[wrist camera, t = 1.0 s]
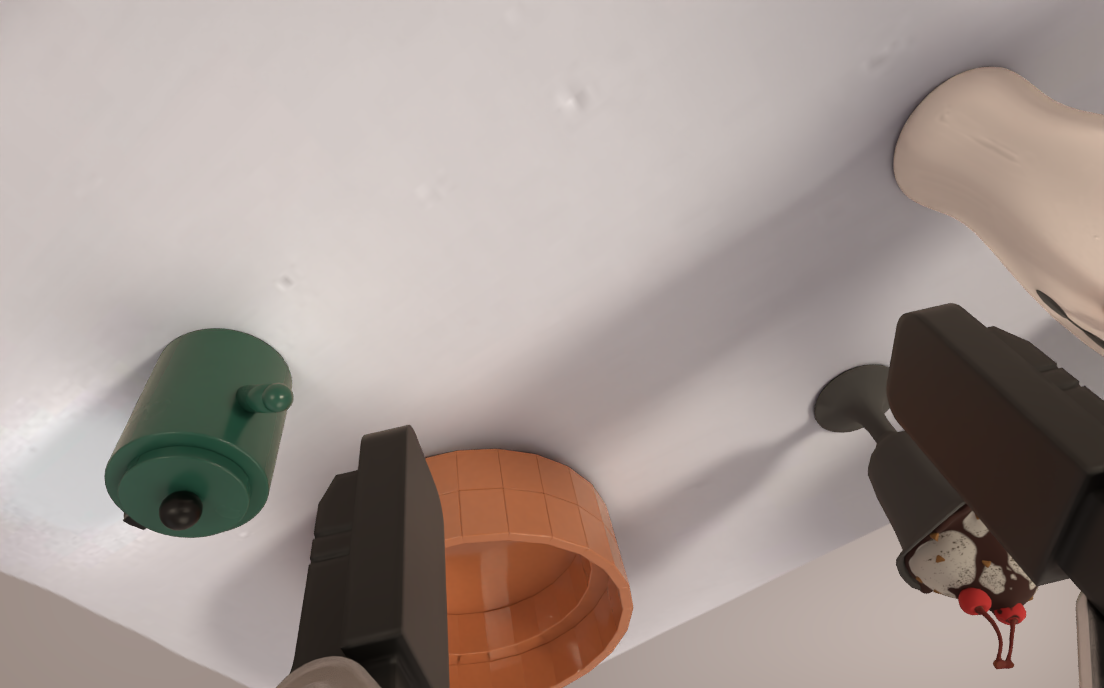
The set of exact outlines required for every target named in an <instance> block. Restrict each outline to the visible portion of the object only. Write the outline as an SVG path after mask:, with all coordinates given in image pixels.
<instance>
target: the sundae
mask: <svg viewBox="0 0 1104 688" xmlns="http://www.w3.org/2000/svg"><path fill="white" fill-rule="evenodd" d="M888 373H889V368H888V367H886V366H883V365H863V366H859V367H856V368H853V369H850V370H848V371H846V372H844V373H843V374H841V375H839V376H838V377H836V378H835V379H834V380H832V381H831V382H830V383H829V384H828V385H827V386H826V387H825V388H824V390H823V391H822V392H821V394H820V396H819V397H818V399H817V402H816V405H815V419H816V421H817V422H818V424H819V425H820V426H821V427H822V428H824V429H827V430H830V431H833V432H851V431H855V430H858V429H861V428H865V429H866V430H867V431H868V432H869V433H870V435H871V436H872V437H873V439H874V440H875V441H876V443H877V445H876V449H875V450H874V452H873V453H872V455H871V459H870V463H869V466H868V476H869V479H870V481H871V484H872V486H873V489H874V491H875V494H876V496H877V499H878V500H879V502H880V504H881V506H882V508H883V510H884V512H885V514H886V516H887V518H888V519H889V521H890V523H891V525H892V527H893V529H894V531H895V533H896V535H897V537H898V540H899V542H900V544H901V547H902V549H903V551H902V552H901V553H900V555H899V556H898V558H897V559H896V566H897V568H898V571H899V574H900V576H901V577H902V578H903V579H904V581H905V582H906V583H908V584H909V585H910V586H911V587H912V588H915V589H918V590H920V591H921V592H923V593H926V594H927V593H930V592H932V591H934V592H935V593H938V594H942V595H945V596H948V597H952V598H956V599H958V601H959V605H960V607H961V609H962V610H963V611H964V612H966V613H967V614H970V615H983V616H984V617H985V618H986V619H987V620H988V621H989V622H990V623H991V624H992V626H993V628H994V629H995V631H996V633H997V636H998V640H999V649H998V654H997V658H996V660H995V661H994V662H993V665H994V667H995V668H996V669H1004V668H1006V669H1007V668H1008V669H1009V668H1013V667H1014V664H1013V663H1012V661H1011V654H1012V648H1013V639H1014V632H1015V624H1019V623H1020V622H1022V620H1023V619H1025V617H1026V611H1025V609H1024V607H1023V605H1024V604H1025V603H1026V602H1028V601H1030V600H1032V599H1033V595H1034V594H1035V592H1036V591H1037V589H1038V586H1036V585H1035V584H1034V583H1033V582H1032V581H1031V579H1030V578H1029V577H1028V576H1027V575H1026V574H1025V572H1024V571H1023V570H1022V569H1021V568H1020V566H1019V565H1018V564H1017V563H1016V562H1015V561H1014V559H1013V558H1012V557H1011V556H1010V555H1009V553H1008V552H1007V551H1006V550H1005V549H1004V548H1003V546H1002V545H1001V544H1000V543H999V542H998V540H997V539H996V538H995V537H994V536H993V534H992V533H991V532H990V531H989V530H988V529H987V527H986V526H985V525H984V524H983V523H982V521H981V520H980V519H979V518H978V517H977V516H976V514H975V513H974V512H973V511H972V510H971V508H970V507H969V506H968V505H967V504H966V502H965V501H964V500H963V499H962V498H961V497H960V495H959V494H958V493H957V492H956V491H955V489H954V488H953V487H952V486H951V485H950V484H949V482H948V481H947V480H946V479H945V478H944V476H943V475H942V474H941V473H940V472H939V470H938V469H937V468H936V467H935V466H934V465H933V463H932V462H931V461H930V460H929V459H928V457H927V456H926V455H925V454H924V453H923V452H922V450H921V449H920V448H919V447H918V446H917V444H916V443H915V442H914V441H913V440H912V439H911V437H910V436H909V435H908V434H907V433H906V431H900V432H897V431H896V430H895V428H894V427H893V426H892V425H891V424H890V423H889V421H888V420H887V418H886V416H885V414H884V413H885V412H886V411H887V410H888V409H889V408H890V406H889V403H888V399H887V393H886V385H887V379H888ZM988 610H990V611H992V613H993V614H994V615H995V616H996V618H997V619H998V620H999V621H1000V622H1002V623H1004V624H1007V625H1010V627H1011V629H1010V638H1009V639H1010V644H1009V652H1008V655H1007V658H1006V660H1005V661H1004V660H1002V659H1001V653H1002V646H1003V642H1002V636H1001V633H1000V631H999V628H998V626H997V625H996V623H995V621H994V620H993V619H992V618H991V617H990V615H989V614H988V613H987V611H988Z"/></svg>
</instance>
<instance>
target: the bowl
mask: <svg viewBox="0 0 1104 688" xmlns="http://www.w3.org/2000/svg"><path fill="white" fill-rule="evenodd" d="M425 459H426V462H427V465H428V467H429V470H430V472H431V475H432V477H433V480H434V482H435V485H436V488H437V491H438V494H439V498H440V502H441V507H442V512H443V520H444V538H445V567H446V595H447V624H448V653H449V681H450V688H563V687H565V686H566V685H568V684H570V683H571V682H573V681H575V680H577V679H578V678H580V677H582V676H583V675H585V674H587V673H588V672H590V671H591V670H592V669H593V668H595V667H596V666H597V665H598V664H599V663H600V662H602V661H603V660H604V659H605V658H606V657H607V656H608V655H610V654H611V653H612V652H613V650H614V649H615V647H616V646H617V644H618V643H619V642H620V640H621V639H622V637H623V636H624V634H625V633H626V632H627V630H628V626H629V622H630V619H631V615H632V611H633V603H632V597H631V591H630V586H629V582H628V579H627V575H626V572H625V568H624V565H623V562H622V558H621V555H620V551H619V548H618V545H617V541H616V538H615V534H614V531H613V527H612V524H611V520H610V517H609V513H608V510H607V507H606V504H605V503H604V502H603V500H602V499H601V497H600V496H599V494H598V493H597V491H596V490H595V488H594V487H593V485H592V484H591V483H590V482H588V481H587V480H586V479H584V478H583V477H582V476H580V475H579V474H578V473H576V472H575V471H574V470H572V469H571V468H569V467H568V466H566V465H563V464H561V463H558V462H555V461H553V460H550V459H548V458H545V457H542V456H540V455H537V454H531V453H524V452H517V451H510V450H503V449H479V450H460V451H453V452H448V453H444V454H440V455H436V456H432V457H428V458H425Z"/></svg>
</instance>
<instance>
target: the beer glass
mask: <svg viewBox="0 0 1104 688" xmlns="http://www.w3.org/2000/svg"><path fill="white" fill-rule="evenodd" d="M893 169H894V175H895V179H896V182H897V184H898V186H899V187H900V189H901V190H902V192H903V193H904V194H905V195H906V196H907V197H908V198H909V199H911V200H913V201H914V202H916V203H918V204H920V205H922V206H924V207H927V208H930V209H932V210H935V211H938V212H940V213H943V214H946V215H948V216H950V217H952V218H954V219H956V220H958V221H959V222H961V223H963V224H964V225H966V226H967V227H968V228H969V229H970V230H972V231H973V232H974V233H975V234H976V235H977V236H978V237H979V238H980V239H981V240H982V241H983V242H984V243H985V244H986V245H987V247H988V248H989V249H990V250H991V251H992V252H993V253H994V255H995V256H996V257H997V258H998V259H999V260H1000V262H1001V263H1002V264H1003V265H1004V266H1005V267H1006V269H1007V270H1008V271H1009V272H1010V273H1011V274H1012V275H1013V277H1014V278H1015V279H1016V280H1017V281H1018V282H1019V283H1020V284H1021V286H1022V287H1023V288H1024V289H1025V290H1026V291H1027V292H1028V293H1029V294H1030V295H1031V296H1032V297H1033V298H1034V299H1035V300H1036V301H1037V302H1038V303H1039V304H1040V305H1041V306H1042V307H1043V308H1044V309H1045V310H1046V311H1047V312H1048V313H1049V314H1050V315H1051V316H1052V317H1053V318H1054V319H1055V320H1056V321H1057V322H1059V323H1060V324H1061V325H1062V326H1064V327H1065V328H1066V329H1067V330H1068V331H1070V332H1071V333H1072V334H1073V335H1075V336H1076V337H1077V338H1078V339H1080V340H1081V341H1082V342H1083V343H1085V344H1086V345H1087V346H1089V347H1090V348H1092V349H1093V350H1094V351H1096V352H1097V353H1099V354H1100V355H1102V356H1103V357H1104V115H1102V114H1097V113H1092V112H1087V111H1082V110H1078V109H1075V108H1072V107H1069V106H1066V105H1063V104H1061V103H1059V102H1057V101H1055V100H1053V99H1052V98H1050V97H1048V96H1047V95H1045V94H1044V93H1043V92H1042V91H1040V90H1039V89H1038V88H1036V87H1035V86H1034V85H1033V84H1031V83H1030V82H1029V81H1027V80H1026V79H1025V78H1023V77H1022V76H1020V75H1019V74H1017V73H1015V72H1013V71H1011V70H1009V69H1006V68H1001V67H979V68H975V69H971V70H968V71H965V72H962V73H960V74H958V75H956V76H954V77H952V78H950V79H948V80H947V81H945V82H944V83H942V84H941V85H939V86H938V87H937V88H935V89H934V90H933V91H932V92H931V93H930V94H929V95H927V96H926V97H925V98H924V99H923V100H922V102H921V103H920V104H919V105H918V106H917V107H916V109H915V110H914V111H913V112H912V114H911V115H910V117H909V118H908V120H907V122H906V123H905V125H904V127H903V129H902V131H901V133H900V136H899V138H898V141H897V144H896V148H895V152H894V159H893Z"/></svg>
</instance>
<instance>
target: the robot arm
mask: <svg viewBox="0 0 1104 688" xmlns="http://www.w3.org/2000/svg"><path fill="white" fill-rule="evenodd" d="M886 393H887V399H888V403H889V406H890V409H891V411H892V413H893V415H894V417H895V419H896V420H897V422H898V423H899V424H900V425H901V427H902V428H903V429H904V430H905V431H906V433H907V434H908V435H909V436H910V437H911V439H912V440H913V441H914V442H915V443H916V444H917V446H918V447H919V448H920V449H921V450H922V452H923V453H924V454H925V455H926V456H927V457H928V459H929V460H930V461H931V462H932V463H933V465H934V466H935V467H936V468H937V469H938V470H939V472H940V473H941V474H942V475H943V476H944V478H945V479H946V480H947V481H948V482H949V484H950V485H951V486H952V487H953V488H954V489H955V491H956V492H957V493H958V494H959V495H960V497H961V498H962V499H963V500H964V501H965V502H966V504H967V505H968V506H969V507H970V508H971V510H972V511H973V512H974V513H975V514H976V516H977V517H978V518H979V519H980V520H981V521H982V523H983V524H984V525H985V526H986V527H987V529H988V530H989V531H990V532H991V533H992V534H993V536H994V537H995V538H996V539H997V540H998V542H999V543H1000V544H1001V545H1002V546H1003V548H1004V549H1005V550H1006V551H1007V552H1008V553H1009V555H1010V556H1011V557H1012V558H1013V559H1014V561H1015V562H1016V563H1017V564H1018V565H1019V566H1020V568H1021V569H1022V570H1023V571H1024V572H1025V574H1026V575H1027V576H1028V577H1029V578H1030V579H1031V581H1032V582H1033V583H1034V584H1035V585H1036V586H1040V585H1044V584H1048V583H1052V582H1056V581H1061V580H1064V579H1069V578H1070V579H1071V580H1072V581H1073V582H1074V584H1075V585H1076V586H1077V587H1078V588H1079V589H1080V590H1081V592H1080V594H1079V596H1078V599H1077V601H1076V621H1077V622H1076V624H1077V646H1078V667H1079V688H1104V401H1103V400H1102V399H1101V398H1099V397H1098V396H1097V395H1096V394H1094V393H1093V392H1092V391H1091V390H1089V389H1088V388H1087V387H1086V386H1082V387H1081V386H1080V385H1079V381H1078V380H1077V379H1076V378H1074V377H1073V376H1072V375H1070V374H1069V373H1068V372H1067V371H1065V370H1064V369H1063V368H1058V367H1057V363H1055V362H1054V361H1053V360H1052V359H1050V358H1049V357H1048V356H1047V355H1045V354H1044V353H1043V352H1042V351H1040V350H1039V349H1038V348H1037V347H1035V346H1034V345H1033V344H1032V343H1030V342H1029V341H1026V340H1024V339H1022V338H1020V337H1017V336H1015V335H1013V334H1010V333H1008V332H1006V331H1004V330H1001V329H999V328H997V327H995V326H992V327H987V328H986V327H985V326H984V325H983V324H982V323H980V322H979V321H978V320H977V319H976V318H974V317H973V316H972V315H971V314H970V313H968V312H967V311H966V310H965V309H964V308H962V307H961V306H959V305H957V304H954V303H948V304H944V305H940V306H935V307H931V308H926V309H922V310H918V311H913V312H909V313H905V314H903V315H902V316H901V317H900V318H899V320H898V323H897V327H896V333H895V338H894V344H893V350H892V356H891V361H890V367H889V373H888V379H887V385H886ZM314 535H315V539H314V540H313V542H312V549H311V555H310V560H311V564H310V565H309V568H308V574H307V581H306V587H305V593H304V600H303V606H302V612H301V619H300V625H299V631H298V638H297V644H296V650H295V657H294V661H293V665H292V669H291V672H290V674H289V675H288V676H287V677H286V678H285V679H284V680H283V681H282V682H281V683H280V684H279V685H278V686H277V687H276V688H450V681H449V653H448V624H447V595H446V567H445V538H444V520H443V512H442V507H441V502H440V498H439V494H438V491H437V488H436V485H435V482H434V480H433V477H432V475H431V472H430V470H429V467H428V465H427V462H426V459H425V457H424V454H423V452H422V449H421V447H420V444H419V442H418V439H417V436H416V434H415V432H414V430H413V428H412V426H410V425H406V426H402V427H397V428H393V429H389V430H384V431H380V432H375V433H371V434H367V435H364V436H363V437H362V440H361V446H360V456H359V466H358V470H357V471H352V472H348V473H344V474H339V475H336V476H335V478H334V479H333V481H332V483H331V484H330V486H329V488H328V489H327V491H326V493H325V494H324V496H323V497H322V499H321V501H320V502H319V504H318V511H317V517H316V523H315V530H314Z"/></svg>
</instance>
